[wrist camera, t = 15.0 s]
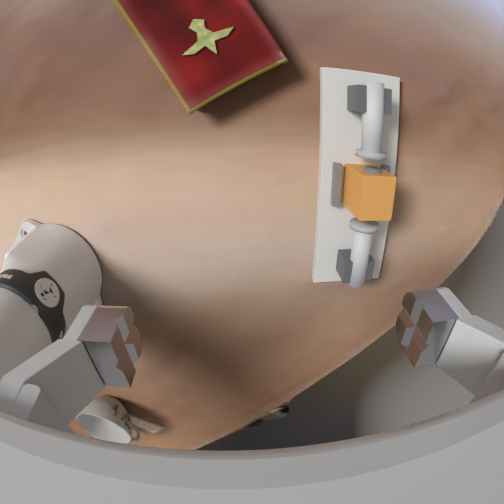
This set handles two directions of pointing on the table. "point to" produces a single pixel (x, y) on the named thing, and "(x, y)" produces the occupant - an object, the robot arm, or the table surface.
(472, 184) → the table surface
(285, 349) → the table surface
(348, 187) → the block
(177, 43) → the hardcover book
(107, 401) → the teacup
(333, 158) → the shaft rig
